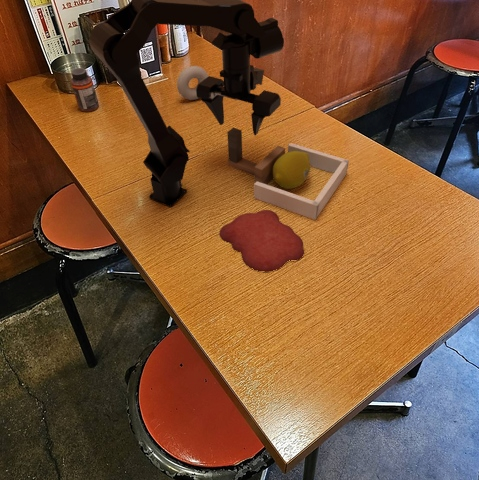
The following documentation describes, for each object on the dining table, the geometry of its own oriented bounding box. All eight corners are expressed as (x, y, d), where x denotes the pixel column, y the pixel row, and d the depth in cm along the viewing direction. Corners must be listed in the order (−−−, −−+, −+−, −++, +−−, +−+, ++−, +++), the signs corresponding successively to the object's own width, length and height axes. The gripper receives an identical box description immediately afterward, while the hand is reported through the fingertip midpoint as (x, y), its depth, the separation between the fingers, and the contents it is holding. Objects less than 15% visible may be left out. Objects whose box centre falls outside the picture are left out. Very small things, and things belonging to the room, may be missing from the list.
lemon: (285, 200, 103) (286, 172, 97) (263, 184, 107) (263, 156, 101) (319, 182, 107) (323, 153, 101) (297, 166, 112) (299, 138, 106)
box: (315, 219, 98) (317, 206, 95) (254, 197, 104) (254, 184, 101) (346, 174, 109) (348, 160, 106) (289, 156, 115) (290, 142, 112)
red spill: (213, 230, 97) (212, 224, 96) (265, 206, 102) (265, 199, 101) (259, 283, 87) (259, 276, 86) (315, 252, 92) (316, 246, 91)
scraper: (261, 190, 106) (262, 156, 99) (219, 172, 111) (217, 139, 104) (284, 168, 111) (285, 135, 104) (243, 152, 116) (242, 120, 109)
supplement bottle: (77, 105, 135) (65, 68, 127) (97, 100, 137) (87, 64, 129) (81, 114, 131) (69, 77, 123) (101, 109, 133) (91, 72, 125)
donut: (207, 92, 139) (205, 60, 132) (212, 97, 137) (210, 65, 129) (177, 100, 136) (173, 68, 129) (181, 105, 134) (177, 73, 126)
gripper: (293, 57, 95) (290, 122, 107) (219, 41, 102) (223, 104, 114) (269, 80, 89) (267, 146, 100) (191, 60, 96) (198, 125, 107)
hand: (238, 129), depth 105 cm, fingers open, 9 cm apart
